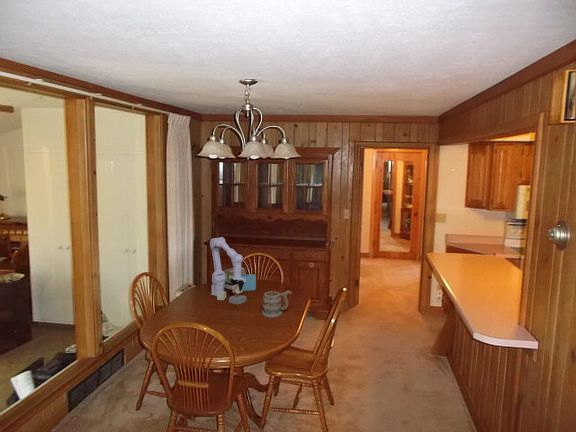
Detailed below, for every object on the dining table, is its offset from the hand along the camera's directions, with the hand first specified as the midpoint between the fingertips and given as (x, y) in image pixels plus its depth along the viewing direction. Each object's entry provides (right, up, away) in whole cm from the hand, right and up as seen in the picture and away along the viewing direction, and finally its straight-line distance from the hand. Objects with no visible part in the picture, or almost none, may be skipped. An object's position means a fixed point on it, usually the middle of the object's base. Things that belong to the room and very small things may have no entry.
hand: (237, 289), depth 299 cm
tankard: (+29, -12, -21) cm, 38 cm away
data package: (+5, -5, +29) cm, 30 cm away
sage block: (-13, -8, +7) cm, 17 cm away
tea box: (-7, -4, +37) cm, 38 cm away
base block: (0, -9, +1) cm, 9 cm away
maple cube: (0, -2, 0) cm, 2 cm away
